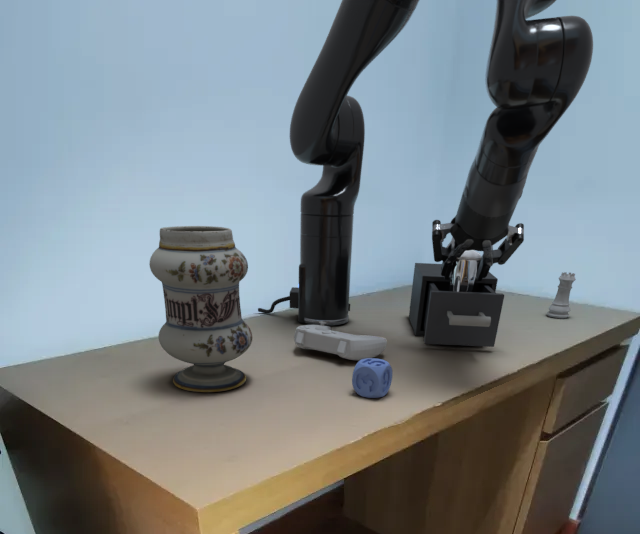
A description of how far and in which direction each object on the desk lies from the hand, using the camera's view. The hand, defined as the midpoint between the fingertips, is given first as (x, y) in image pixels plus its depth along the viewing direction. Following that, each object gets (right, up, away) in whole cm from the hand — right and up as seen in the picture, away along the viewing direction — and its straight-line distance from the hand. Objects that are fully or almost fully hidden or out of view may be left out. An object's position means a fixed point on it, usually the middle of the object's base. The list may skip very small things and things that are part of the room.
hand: (462, 275), depth 93 cm
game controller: (-21, -14, -3) cm, 25 cm away
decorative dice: (-17, -25, -18) cm, 35 cm away
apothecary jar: (-39, -23, -16) cm, 47 cm away
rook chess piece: (+26, +4, +24) cm, 36 cm away
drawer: (0, -9, +3) cm, 10 cm away
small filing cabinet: (0, -3, +13) cm, 14 cm away
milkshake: (0, -5, +2) cm, 6 cm away
